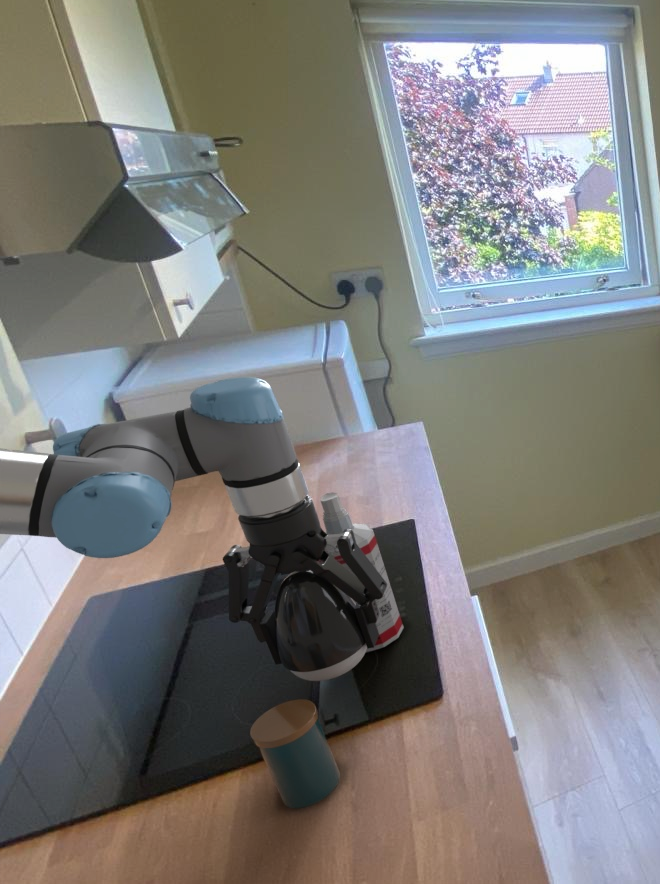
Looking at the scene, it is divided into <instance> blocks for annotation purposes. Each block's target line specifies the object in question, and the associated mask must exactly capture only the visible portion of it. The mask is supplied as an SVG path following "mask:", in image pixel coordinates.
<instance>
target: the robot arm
mask: <svg viewBox="0 0 660 884" xmlns="http://www.w3.org/2000/svg"><path fill="white" fill-rule="evenodd" d="M189 400H190V407H186V408H184V409H180V410H175V411H169V412H165V413H158V414H153V415H148V416H142V417H138V418H131V419H126V420H121V421H115V422H110V423H97V424H93V425H90V426H89V427H85V428H81V429H77V430H72V431H70V432H65V433H63V434H60V435H59V436H57V438H56V439H55V440H54V442H53V444H52V451H53V453H48V452H37V451H27V450H20V449H19V450H18V449H7V448H0V535H11V536H12V535H13V536H30V537H44V538H55V539H57V540H58V541H59V543H60V544H61V545H63V547H64V548H66V549H68V550H71V551H73V552H75V553H77V554H79V555H83V556H84V557H89V558H95V559H115V558H120V557H124V556H127V555H128V556H129V555H130V554H133V553H136V552H138V551H140V550H142V549H143V548H146V547H147V546H148V545H149V544H151V543H152V542H153V541H154V540H155V539H156V538H157V537H158V535H159V534H160V532H161V530H162V528H163V526H164V524H165V522H166V519H167V518H168V517H169V516H170V513H171V510H172V506H173V502H172V495H173V490H174V487H175V483H176V482H178V481H179V482H180V481H182V480H186V479H192V478H195V477H200V476H204V475H208V474H210V473H214V472H218V474H219V475H220V477H221V480H222V482H223V484H224V487H225V490H226V492H227V495H228V498H229V499H230V502H231V505H232V509H233V511H234V512H235V514H237V515H238V517H237V520H238V522H239V524H240V527H241V530H242V533H243V534H244V537H245V539H246V541H247V542H248V544H249V545H247V546H241V545H240V544H234V545H232V546H231V547H230V548H229V549H228V551H227V552H226V553H225V555H223V557H222V562H223V564H224V566H225V568H226V571H227V572H228V620H229V622H231V623H234V624H235V623H239V622H240V621H241V622H247V623H248V624H250V625H251V628H252V629H253V632H254V635H255V637H256V639H257V641H258V642H260V643H266V645H267V648H268V649H269V652H270V655H271V657H272V659H273V662H274V664H275V665H277V666H278V665H281V664H282V663H281V660H280V658H279V654H278V650H277V644H276V637H275V610H269V611H267V612H266V610H267V609H268V608H269V606H268V605H269V603H270V600H271V597H272V594H273V592H274V589H275V586H276V584H277V580H278V577H279V575H281V576H285V575H290V574H291V573H293V572H295V571H296V572H305V571H309V570H311V571H312V572H313V573H315V574H316V575H318V576H319V575H321V576H323V577H324V578H325V579H327V580H328V581H329V582H331V583H332V584H333V585H335V586H336V587H337V588H339V589H340V590H341V591H343V592H344V593H345V594H346V595H348V596H349V597H350V598H352V599H353V600H354V601H356V602H357V604H356V606H355V608H354V611H355V614H356V617H357V619H358V622H359V625H360V628H361V631H362V634H363V637H364V639H365V642H366V645H367V648H368V649H369V648H374V646H375V644H376V641H377V639H378V636H379V633H378V630H377V627H376V624H375V623H376V622H377V620H378V617H379V614H380V613H379V610H378V607H377V604H376V601H375V599H381V598H382V597H383V595H384V592H385V590H386V588H387V583H386V581H385V580H384V579H383V578H382V576H381V575H380V574H379V572H378V571H377V570H376V568H375V567H374V566H373V565H372V563H371V562H370V561H369V559H368V558H367V557H366V556H365V554H364V553H363V552H362V550H361V549H360V548H359V546H358V545H357V544H356V540H355V537H354V533H353V531H352V530H351V529H345V530H344V531H343V532H342V533H340V534H330V535H328V534H327V533H326V530H323V528H322V527H321V523H320V522H321V521H320V518H319V515H318V513H317V510H316V507H315V505H314V501H313V498H312V497H311V496H310V495H309V487H308V485H307V482H306V479H305V476H304V473H303V470H302V468H301V466H300V465H301V464H300V463H299V460H298V456H297V453H296V450H295V447H294V444H293V442H292V439H291V435H290V432H289V429H288V425H287V423H286V420H285V416H284V413H283V410H281V407H280V406H279V405H280V404H279V403H278V400H277V398H276V396H275V393H274V390H273V388H272V387H271V385H270V384H269V383H268V382H267V381H266V380H263V379H262V378H258V377H254V376H239V377H232V378H231V377H230V378H224V379H220V380H217V381H215V382H209V383H206V384H203V385H200V386H198V387H197V388H195V389H194V390H192V391H191V393H190V395H189ZM327 545H330V546H332V547H333V548H334V549H335V552H340V555H341V557H342V559H343V560H344V561H345V563H346V564H347V565H348V566H349V568H350V569H351V570H352V571H353V573H354V574H355V575H354V574H353V573H352V572H350V571H349V570H348V569H347V568H345V567H344V566H343V565H341V564H340V563H339V562H338V561H336V560H335V558H334V556H333V555H332V554H331V553H330V552H329V551H327V550H326V549H325V548H326V546H327ZM251 559H253V560H255V561H256V562H259V563H260V564H261V565H263V566H264V569H263V571H262V575H261V577H260V582H259V585H258V587H257V591H256V594H255V596H254V599H253V601H252V605H251V606H249V584H250V583H249V581H250V580H249V576H250V575H249V572H250V571H249V567H250V566H249V564H250V563H249V562H250V561H251ZM319 559H320V560H321V562H320V563H319V562H318V561H319Z"/></svg>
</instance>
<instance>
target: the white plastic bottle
mask: <svg viewBox="0 0 660 884" xmlns="http://www.w3.org/2000/svg"><path fill="white" fill-rule="evenodd" d="M319 501H320V504H321V507H322V510H323V512H322V521H323V524H324V528H325V532H326V533H327V534H328V535H330V534H340V533H342V532H343V531H344V530H345V529H351V530H352V531H353V533H354V537H355V540H356V544H357V545H358V546H359V548H360V549H361V550H362V552H363V553H364V554H365V556H366V557H367V558H368V559H369V561H370V562H371V563H372V565H373V566H374V567H375V568H376V570H377V571H378V572H379V574H380V575H381V576H382V578H383V579H384V580H385V581H386V583H387V588H386V590H385V592H384V595H383V597H382V598H381V599H375V601H376V604H377V607H378V610H379V613H380V614H379V617H378V620H377V622H376V623H375V624H376V627H377V630H378V633H379V636H378V639H377V641H376V644H375V646H374V648H369V649H368V648H367V650H366V652H365V653H369V652H373V651H377V650H380V649H382V648H386V647H387V646H388V645H390V644H391V643H393V642H394V641H397V639H399V637H400V635H401V634H402V632H403V630H404V628H405V627H404V624H403V621H402V618H401V614H400V611H399V608H398V604H397V602H396V598H395V596H394V592H393V589H392V586H391V583H390V580H389V576H388V573H387V570H386V567H385V564H384V561H383V557H382V554H381V552H380V547H379V545H378V541H377V538H376V535H375V532H374V529H373V528H372V527H371V526H370V525H369V524H368V523H357V522H352V519H351V516H350V514H349V512H348V511H347V509H346V508H345V507H344V506H343V504H342V501H341V498H340V495H339V494H338V493H337V492H333V491H332V492H327V493H325V494H324V495H322V496H321V498H320V499H319ZM325 549H326V550H327V551H329V552H330V553H331V554H332V555H333V556H334V558H335V560H336V561H338V562H339V563H340V564H341V565H343V566H344V567H345V568H347V569H348V570H349V571H350V572H352V573H353V571H352V570H351V569H350V568H349V566H348V565H347V564H346V563H345V561H344V560H343V559H342V557H341V555H340V552H335V549H334V548H333V547H332V546H330V545H327V546H326V548H325ZM318 562H319V563H320V562H321V560H320V559H319V561H318ZM353 574H354V573H353ZM354 575H355V574H354ZM355 602H356V601H355ZM356 604H357V602H356Z"/></svg>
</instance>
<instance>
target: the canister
mask: <svg viewBox="0 0 660 884" xmlns="http://www.w3.org/2000/svg"><path fill="white" fill-rule="evenodd" d="M249 735H250V738H251V740H252V742H253V744H254V745H255V746H256V747H257V748H258V750H259V752H260V754H261V757H262V759H263V761H264V763H265V766H266V768H267V770H268V772H269V775H270V776H271V778H272V781H273V783H274V785H275V787H276V790H277V792H278V793H279V796H280V798H281V800H282V803H283V804H284V806H285V807H287V808H290V809H302V808H306V807H309V806H313V805H315V804H316V803H319V802H320V801H322V800H324V799H325V798H327V796H329V795H330V794H331V793H332V792H333V791H334V790H335V789H336V788H337V786H338V784H339V782H340V780H341V772H340V769H339V766H338V763H337V762H336V760H335V759H336V758H335V757H334V754H333V752H332V749H331V746H330V744H329V742H328V739H327V736H326V734H325V732H324V729H323V727H322V724H321V722H320V719H319V711H318V709H317V706H316V704H315V703H314V702H313V701H312V700H308V699H305V698H304V699H303V698H300V699H292V700H289V701H285V702H282V703H279V704H278V705H275V706H273V707H272V708H270V709H268V710H266V711H264V713H262V714H261V715H260V716H259V717H258V718H257V719H256V720H255V721H254V723H253V724H252V726H251V728H250V731H249Z"/></svg>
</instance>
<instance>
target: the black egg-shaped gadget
mask: <svg viewBox="0 0 660 884" xmlns="http://www.w3.org/2000/svg"><path fill="white" fill-rule="evenodd" d="M355 606H356V602H355V601H354V600H353V599H352V598H350V597H349V596H348V595H346V594H345V593H344V592H343V591H341V590H340V589H339V588H337V587H336V586H335V585H333V584H332V583H331V582H329V581H328V580H327V579H325V578H324V577H323V576H321V575H319V576H318V575H316V574H315V573H313V572H312V571H311V570H309V571H305V572H296V571H295V572H292V573H290V574H287V576H286V577H285V578H284V579H283V580H282V582H281V584H280V586H279V588H278V591H277V594H276V598H275V603H274V612H275V637H276V644H277V650H278V654H279V658H280V660H281V663H282V666H283V667H284V668H286V669H287V670H289V671H290V672H291V673H292V674H293V675H295V676H296V677H298V678H299V679H302V680H304V681H305V680H306V681H309V682H324V681H328V680H331V679H335V678H338V677H340V676H342V675H344V674H347V673H348V672H350V671H351V670H352V669H354V668H355V667H356V666H357V665H358V664H359V663H360V662H361V661H362V659H363V658H364V656H365V654H366V653H367V652H366V650H367V645H366V642H365V639H364V637H363V634H362V631H361V628H360V625H359V622H358V619H357V617H356V614H355V611H354V608H355Z"/></svg>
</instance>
